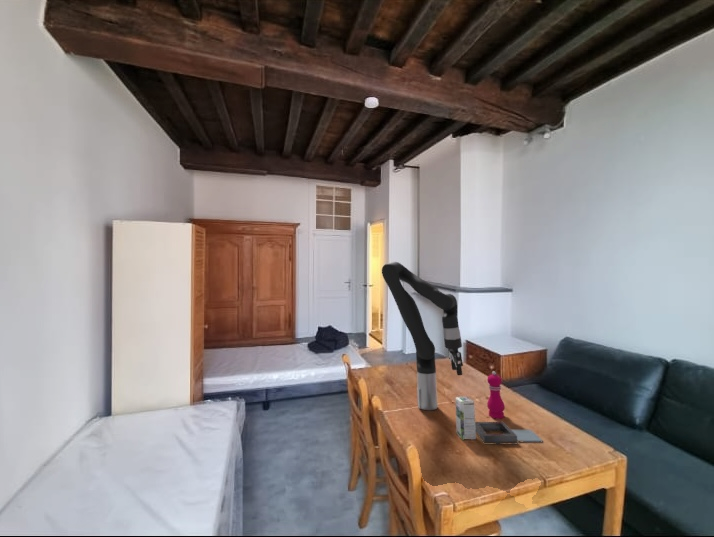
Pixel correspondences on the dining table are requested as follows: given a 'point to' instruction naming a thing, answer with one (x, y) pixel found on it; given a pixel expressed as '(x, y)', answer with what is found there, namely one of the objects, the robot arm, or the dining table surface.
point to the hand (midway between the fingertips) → (457, 372)
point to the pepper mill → (495, 397)
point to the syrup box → (465, 418)
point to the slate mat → (527, 436)
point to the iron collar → (495, 438)
